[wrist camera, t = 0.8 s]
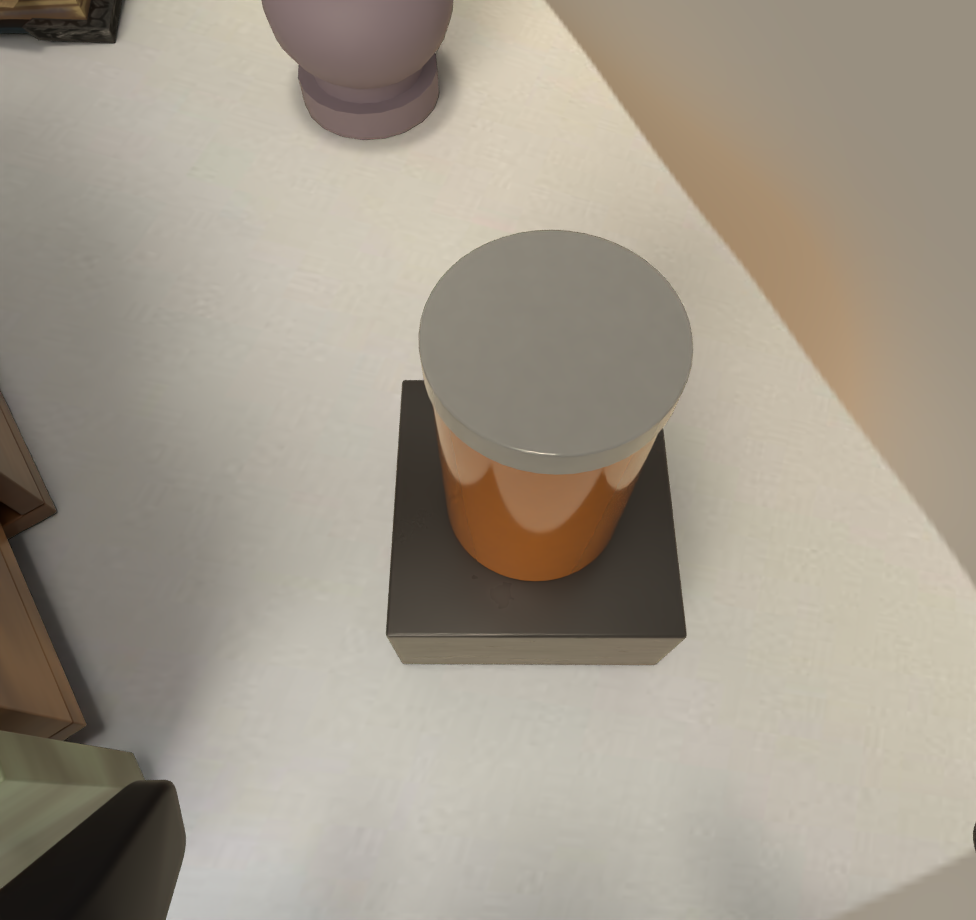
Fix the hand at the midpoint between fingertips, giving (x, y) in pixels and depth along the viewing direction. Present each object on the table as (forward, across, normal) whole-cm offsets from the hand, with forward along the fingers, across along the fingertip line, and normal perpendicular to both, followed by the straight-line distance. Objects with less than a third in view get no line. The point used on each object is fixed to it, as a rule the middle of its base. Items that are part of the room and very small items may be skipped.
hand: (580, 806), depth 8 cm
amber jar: (+13, 0, +2) cm, 13 cm away
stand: (+16, 0, +5) cm, 17 cm away
